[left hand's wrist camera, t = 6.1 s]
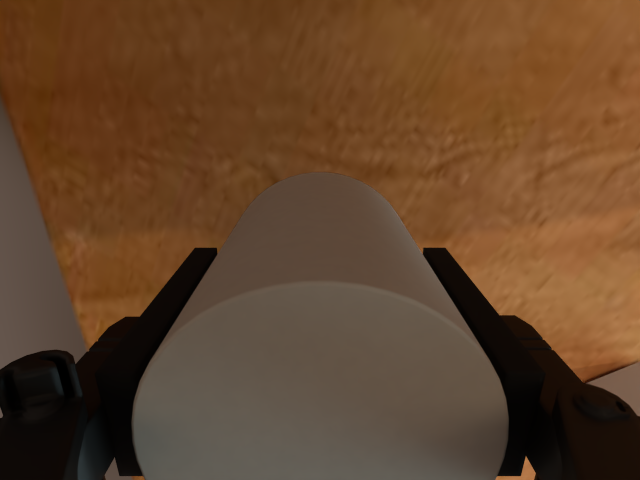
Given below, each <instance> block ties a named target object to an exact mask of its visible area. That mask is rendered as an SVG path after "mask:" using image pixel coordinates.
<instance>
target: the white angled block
mask: <svg viewBox="0 0 640 480" xmlns="http://www.w3.org/2000/svg"><path fill="white" fill-rule="evenodd" d="M586 384H591V385H594V386H597V387H600V388H603V389H605V390H607V391H609V392H611V393H613V394H615V395H617V396H618V397H620V398H621V399H622V400H623V401H625V402H626V403H627V404H629V405H630V407H631V408H632V409H633V411H634V412H635V413H636V415H637V416H640V362H638V363H635V364H633V365H630V366H628V367H625V368H623V369H620V370H618V371H615V372H613V373H610V374H608V375H605V376H603V377H600V378H598V379H595V380H593V381H590V382H588V383H586Z"/></svg>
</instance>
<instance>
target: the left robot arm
mask: <svg viewBox="0 0 640 480" xmlns="http://www.w3.org/2000/svg"><path fill="white" fill-rule="evenodd" d="M216 256H217V248H195V249H194V250H193V251H192V252H191V254H190V255H189V256H188V257H187V258H186V260H185V261H184V262H183V263H182V265H181V266H180V267H179V268H178V270H177V271H176V272H175V273H174V275H173V276H172V277H171V278H170V280H169V281H168V282H167V283H166V285H165V286H164V287H163V288H162V290H161V291H160V292H159V293H158V295H157V296H156V297H155V298H154V300H153V301H152V302H151V303H150V305H149V306H148V307H147V308H146V310H145V311H144V312H143V313H142V315H141V316H140V317H124V318H123V319H121V320H120V321H118V322H116V323H115V324H113V325H112V326H110V327H109V328H108V329H107V330H106V331H105V332H104V333H103V334H102V335H101V337H100V338H99V339H98V341H96V342H95V343H94V344H93V346H92V347H91V348H90V349H89V352H86V353H85V354H84V356H83V357H82V358H81V359H80V360H79V361H78V362H77V363H76V364H75V361H74V358H73V356H72V355H71V354H70V353H68V352H67V351H61V350H48V351H41V352H37V353H34V354H30V355H26V356H24V357H22V358H20V359H17V360H15V361H13V362H11V363H10V364H8V365H7V366H5V367H4V368H2V369H1V370H0V408H1V410H2V413H3V417H2V418H0V480H106V479H105V473H106V471H107V470H108V468H109V466H110V464H111V462H112V461H113V459H114V457H115V460H116V463H117V468H118V472H119V476H143V474H142V472H141V469H140V467H139V464H138V462H137V459H136V455H135V450H134V446H133V441H132V424H131V421H132V412H133V404H134V399H135V395H136V392H137V389H138V385H139V382H140V380H141V378H142V376H143V374H144V372H145V370H146V368H147V366H148V364H149V362H150V360H151V359H152V357H153V356H154V354H155V353H156V351H157V349H158V348H159V346H160V345H161V343H162V341H163V340H164V338H165V337H166V335H167V334H168V332H169V330H170V329H171V327H172V326H173V324H174V322H175V321H176V319H177V318H178V316H179V315H180V313H181V311H182V310H183V308H184V307H185V305H186V303H187V302H188V300H189V299H190V297H191V296H192V294H193V292H194V291H195V289H196V288H197V286H198V284H199V283H200V281H201V280H202V278H203V277H204V275H205V273H206V272H207V270H208V269H209V267H210V265H211V264H212V262H213V261H214V259H215V258H216ZM423 256H424V257H425V259H426V260H427V262H428V264H429V265H430V267H431V268H432V270H433V271H434V273H435V275H436V276H437V278H438V279H439V281H440V282H441V284H442V286H443V287H444V289H445V290H446V292H447V294H448V295H449V297H450V298H451V300H452V301H453V303H454V305H455V306H456V308H457V309H458V311H459V313H460V314H461V316H462V317H463V319H464V320H465V322H466V324H467V325H468V327H469V328H470V330H471V332H472V333H473V335H474V336H475V338H476V339H477V341H478V343H479V344H480V346H481V347H482V349H483V351H484V352H485V354H486V355H487V357H488V358H489V360H490V362H491V364H492V366H493V367H494V369H495V371H496V373H497V375H498V377H499V379H500V382H501V385H502V388H503V391H504V394H505V397H506V402H507V409H508V417H509V428H508V442H507V447H506V452H505V457H504V460H503V462H502V465H501V467H500V470H499V473H498V475H497V476H521V473H522V469H523V465H524V461H525V457H526V456H527V458H528V460H529V462H530V464H531V465H532V467H533V469H534V471H535V472H536V475H535V479H534V480H640V416H637V415H636V413H635V412H634V411H633V409H632V408H631V407H630V405H629V404H627V403H626V402H625V401H623V400H622V399H621V398H620V397H618V396H617V395H615V394H613V393H611V392H609V391H607V390H605V389H603V388H600V387H597V386H594V385H591V384H586V383H583V382H582V381H581V380H580V379H579V378H578V377H577V376H576V374H575V373H574V372H573V371H572V370H571V369H570V368H569V367H568V366H567V364H566V363H565V362H564V361H563V360H562V359H561V358H560V357H559V356H558V355H557V353H556V352H555V351H554V350H551V347H550V346H549V345H548V343H547V342H546V341H545V340H542V337H541V336H540V335H539V333H538V332H537V331H536V330H535V329H534V328H533V327H532V326H531V325H530V324H528V323H526V322H525V321H523V320H521V319H520V318H518V317H517V316H515V315H499V314H498V313H497V312H496V311H495V309H494V308H493V307H492V306H491V304H490V303H489V302H488V301H487V299H486V298H485V297H484V296H483V294H482V293H481V292H480V291H479V289H478V288H477V287H476V286H475V284H474V283H473V282H472V281H471V279H470V278H469V277H468V276H467V274H466V273H465V272H464V271H463V269H462V268H461V267H460V266H459V264H458V263H457V262H456V261H455V259H454V258H453V257H452V256H451V254H450V253H449V252H448V251H447V249H446V248H423Z"/></svg>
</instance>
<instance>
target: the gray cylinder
mask: <svg viewBox="0 0 640 480" xmlns="http://www.w3.org/2000/svg"><path fill="white" fill-rule="evenodd" d="M131 424H132V441H133V446H134V450H135V455H136V459H137V462H138V464H139V467H140V469H141V472H142V474H143V477H144V478H145V480H495V479H496V477H497V475H498V473H499V470H500V467H501V465H502V462H503V460H504V457H505V452H506V447H507V442H508V428H509V417H508V409H507V402H506V397H505V394H504V391H503V388H502V385H501V382H500V379H499V377H498V375H497V373H496V371H495V369H494V367H493V366H492V364H491V362H490V360H489V358H488V357H487V355H486V354H485V352H484V351H483V349H482V347H481V346H480V344H479V343H478V341H477V339H476V338H475V336H474V335H473V333H472V332H471V330H470V328H469V327H468V325H467V324H466V322H465V320H464V319H463V317H462V316H461V314H460V313H459V311H458V309H457V308H456V306H455V305H454V303H453V301H452V300H451V298H450V297H449V295H448V294H447V292H446V290H445V289H444V287H443V286H442V284H441V282H440V281H439V279H438V278H437V276H436V275H435V273H434V271H433V270H432V268H431V267H430V265H429V264H428V262H427V260H426V259H425V257H424V256H423V254H422V252H421V251H420V249H419V248H418V246H417V245H416V243H415V241H414V240H413V238H412V237H411V235H410V233H409V232H408V230H407V229H406V227H405V226H404V224H403V222H402V221H401V219H400V218H399V216H398V214H397V213H396V211H395V210H394V209H393V207H392V206H391V205H390V203H389V202H388V201H387V200H386V199H385V198H384V197H383V196H382V195H381V194H379V193H378V192H377V191H376V190H374V189H373V188H372V187H370V186H368V185H366V184H365V183H363V182H361V181H359V180H356V179H354V178H351V177H348V176H344V175H341V174H335V173H327V172H312V173H305V174H299V175H296V176H292V177H289V178H286V179H284V180H282V181H279V182H277V183H275V184H274V185H272V186H270V187H269V188H267V189H266V190H265V191H263V192H262V193H261V194H260V195H258V196H257V197H256V198H255V199H254V200H253V202H252V203H251V204H250V205H249V206H248V208H247V209H246V210H245V212H244V213H243V215H242V216H241V218H240V220H239V221H238V223H237V224H236V226H235V227H234V229H233V231H232V232H231V234H230V235H229V237H228V239H227V240H226V242H225V243H224V245H223V246H222V248H221V250H220V251H219V253H218V254H217V256H216V258H215V259H214V261H213V262H212V264H211V265H210V267H209V269H208V270H207V272H206V273H205V275H204V277H203V278H202V280H201V281H200V283H199V284H198V286H197V288H196V289H195V291H194V292H193V294H192V296H191V297H190V299H189V300H188V302H187V303H186V305H185V307H184V308H183V310H182V311H181V313H180V315H179V316H178V318H177V319H176V321H175V322H174V324H173V326H172V327H171V329H170V330H169V332H168V334H167V335H166V337H165V338H164V340H163V341H162V343H161V345H160V346H159V348H158V349H157V351H156V353H155V354H154V356H153V357H152V359H151V360H150V362H149V364H148V366H147V368H146V370H145V372H144V374H143V376H142V378H141V380H140V382H139V385H138V389H137V392H136V395H135V399H134V404H133V412H132V421H131Z"/></svg>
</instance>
